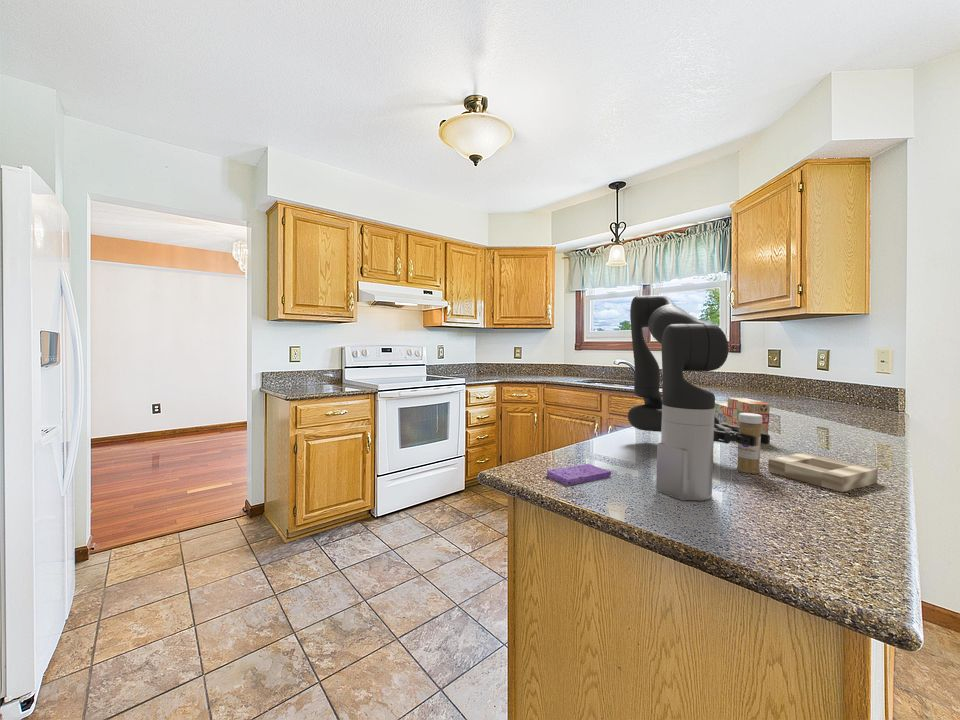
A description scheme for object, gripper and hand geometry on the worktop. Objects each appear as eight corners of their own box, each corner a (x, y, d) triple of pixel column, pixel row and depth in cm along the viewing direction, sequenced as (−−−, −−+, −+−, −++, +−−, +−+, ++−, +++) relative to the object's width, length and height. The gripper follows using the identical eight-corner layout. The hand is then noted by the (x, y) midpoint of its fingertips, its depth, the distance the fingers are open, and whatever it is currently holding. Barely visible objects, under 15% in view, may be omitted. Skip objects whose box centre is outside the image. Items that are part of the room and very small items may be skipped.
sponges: (546, 478, 89) (546, 469, 89) (588, 470, 95) (588, 462, 95) (567, 488, 83) (567, 479, 83) (611, 479, 89) (611, 470, 89)
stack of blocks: (712, 428, 144) (714, 394, 144) (731, 429, 144) (732, 394, 143) (747, 442, 123) (748, 402, 123) (768, 443, 123) (770, 403, 122)
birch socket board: (841, 491, 81) (842, 477, 81) (768, 471, 94) (768, 458, 94) (877, 482, 87) (877, 469, 87) (803, 465, 100) (803, 453, 100)
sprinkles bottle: (735, 471, 94) (737, 414, 93) (738, 467, 97) (740, 411, 97) (759, 475, 91) (761, 416, 90) (761, 471, 94) (763, 413, 94)
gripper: (675, 413, 104) (742, 426, 88) (713, 410, 110) (781, 422, 94) (674, 442, 104) (741, 460, 89) (712, 438, 110) (780, 453, 94)
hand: (761, 440), depth 91 cm, fingers closed on sprinkles bottle, 4 cm apart
